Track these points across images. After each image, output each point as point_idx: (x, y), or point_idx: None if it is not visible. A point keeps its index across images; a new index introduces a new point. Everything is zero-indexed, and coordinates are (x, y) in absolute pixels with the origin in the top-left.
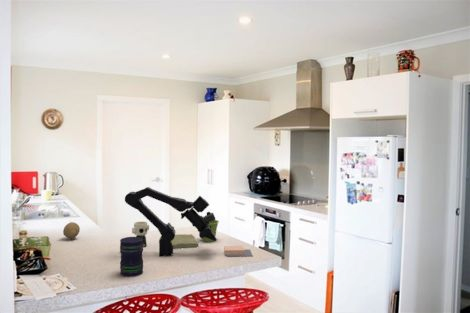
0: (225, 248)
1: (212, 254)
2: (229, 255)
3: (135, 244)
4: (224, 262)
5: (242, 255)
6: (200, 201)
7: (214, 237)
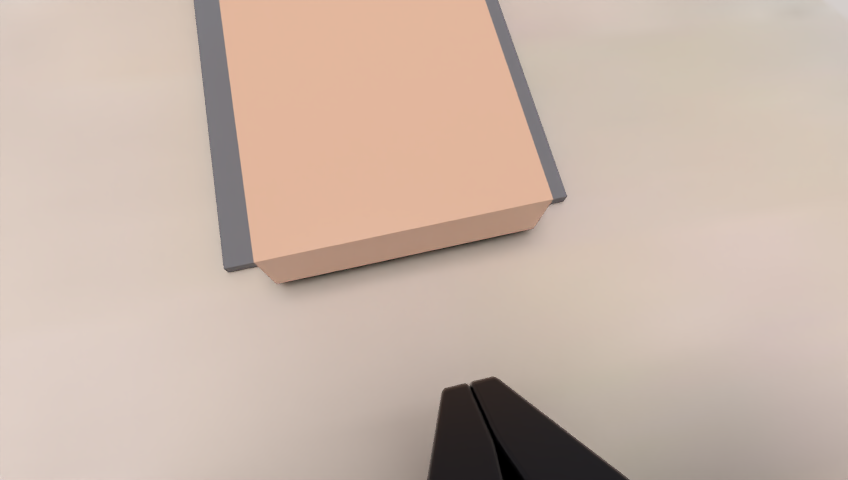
0: (423, 212)
1: None
2: None
3: None
4: (818, 197)
5: None
6: None
7: (582, 454)
